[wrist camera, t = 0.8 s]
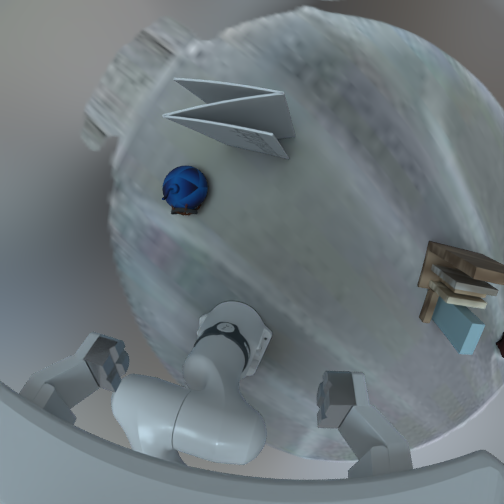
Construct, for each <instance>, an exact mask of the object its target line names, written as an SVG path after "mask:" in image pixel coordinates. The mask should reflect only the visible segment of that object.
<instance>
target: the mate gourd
mask: <svg viewBox="0 0 504 504" xmlns="http://www.w3.org/2000/svg"><path fill="white" fill-rule="evenodd" d="M496 345H498V348H499V349H500V353H501V355H502V357H503V358H504V332H503V336H502V340H500V341H498V342H496Z"/></svg>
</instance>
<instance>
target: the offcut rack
mask: <svg viewBox="0 0 504 504" xmlns="http://www.w3.org/2000/svg"><path fill="white" fill-rule="evenodd" d="M432 264H434V265H439V266H444V267H448V268H453V269H458V270H461V271H463V272H464V273H466V274H467V275H469V276H470V277H472V278H473V279H477V280H482V281H487V282H491V283H496V284H501V285H504V265H503V264H501V263H499V262H497V261H495V260H493V259H491V258H489V257H487V256H485V255H483V254H479V253H476V252H472V251H468V250H464V249H460V248H456V247H452V246H448V245H444V244H440V243H436V242H432V241H429V243H428V247H427V252H426V256H425V260H424V263H423V267H422V271H421V275H420V278H419V282H418V285H417V286H418V287H422V288H427V289H428V292H427V295H426V299H425V302H424V305H423V307H422V310H421V313H420V316H419V318H420V319H421V321H422V322H423V323H430V320H431V318H432V315H433V312H434V309H435V307H436V304H437V301H438V298H439V295H438V294H437V293H436V292H435V291H434V290H433V289H431V288H430V287H429V286H428V284H429V281H430V280H433V281H439V282H441V281H440V280H439V276H438V275H437V274H436V273H434V272H433V271H432V270H431V267H432Z"/></svg>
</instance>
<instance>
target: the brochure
mask: <svg viewBox="0 0 504 504" xmlns="http://www.w3.org/2000/svg"><path fill="white" fill-rule="evenodd" d="M174 80H175V81H176V82H178V83H179V84H180V85H182V86H183V87H185V88H186V89H188V90H189V91H190V92H192V93H193V94H195V95H196V96H197V97H199V98H200V99H202V100H203V101H204V102H206V103H207V104H205V105H200V106H196V107H192V108H187V109H183V110H179V111H175V112H171V113H168V114H164V115H163V117H164V118H166V119H169V120H171V121H174V122H176V123H179V124H181V125H183V126H186V127H188V128H190V129H193V130H195V131H197V132H200V133H202V134H204V135H206V136H209V137H211V138H213V139H215V140H217V141H219V142H222V143H224V144H226V145H229V146H234V147H238V148H243V149H247V150H252V151H256V152H260V153H265V154H269V155H273V156H277V157H281V158H285V159H288V160H289V159H290V158H289V157H288V155H287V154H286V152H285V151H284V149H283V148H282V146H281V145H280V143H279V142H278V140H277V139H281V138H292V137H295V132H294V128H293V124H292V120H291V116H290V112H289V108H288V105H287V101H286V97H285V94H284V92H281V91H276V90H271V89H266V88H260V87H254V86H248V85H241V84H234V83H227V82H219V81H209V80H198V79H185V78H174Z"/></svg>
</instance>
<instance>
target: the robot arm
mask: <svg viewBox="0 0 504 504" xmlns="http://www.w3.org/2000/svg"><path fill="white" fill-rule="evenodd" d="M199 322H200V327H199V329H198V331H197V335H198V338H197V340H196V342H195V345H194V348H193V350H192V351H191V353H190V354H189V356H188V357H187V358H186V360H185V361H184V364H183V369H182V373H183V378H184V380H185V382H186V384H187V386H188V388H186V387H183V386H180V385H177V384H174V383H171V382H168V381H165V380H162V379H160V378H156V377H151V376H145V375H139V374H129V375H128V376H126V377H124V378H123V379H121V377H120V376H122V375H124V374H125V373H126V372H127V370H128V367H129V356H128V353H127V352H126V351H125V350H124V348H125V344H124V342H123V341H122V340H118V339H116V338H112V337H109V336H106V335H103V334H99V333H96V332H91V333H90V334H89V335H88V337H87V338H86V339H85V341H84V342H83V343H82V345H81V346H80V348H79V349H78V350H77V352H76V353H75V355H74V356H69V357H67V358H65V359H62V360H60V361H58V362H56V363H54V364H52V365H50V366H48V367H46V368H44V369H42V370H40V371H38V372H36V373H34V374H32V375H31V377H30V378H29V380H28V381H27V382H26V384H25V385H24V387H23V388H22V390H21V391H20V393H19V394H18V393H17V392H15V391H14V390H12V389H11V388H10V387H8V386H7V385H5V384H4V383H2V382H1V381H0V504H504V464H503V463H502V462H501V461H500V460H498V459H497V458H496V457H495V456H493V455H492V454H491V453H489V452H487V451H486V450H479V451H475V452H472V453H470V454H467V455H464V456H461V457H458V458H455V459H451V460H448V461H444V462H441V463H437V464H433V465H429V466H425V467H421V468H416V469H413V466H412V460H411V454H410V448H409V443H408V441H407V440H406V439H405V438H404V437H403V436H402V435H401V434H400V433H399V432H398V430H397V429H396V428H395V427H394V426H393V425H392V424H391V423H390V422H389V421H388V420H387V419H386V418H385V417H384V416H383V415H382V414H381V413H380V412H379V411H378V409H377V408H376V407H375V406H374V405H370V402H369V396H368V391H367V386H366V381H365V376H364V373H363V372H350V371H325V372H324V375H323V382H321V383H320V385H319V388H318V392H317V406H318V407H319V408H320V409H319V411H318V413H317V425H318V428H338V430H339V432H340V433H341V435H342V436H343V438H344V439H345V441H346V442H347V443H348V445H349V446H350V448H351V449H352V451H353V452H354V454H355V455H356V456H357V458H358V459H359V461H358V462H357V463H356V464H355V465H354V466H352V467H351V468H350V469H349V470H348V478H346V479H328V480H291V479H273V478H272V479H271V478H260V477H250V476H242V475H235V474H228V473H222V472H216V471H210V470H205V469H200V468H195V467H191V466H187V465H186V464H185V463H184V462H183V460H182V459H181V457H180V456H179V453H178V451H181V452H184V453H187V454H189V455H193V456H195V457H199V458H202V459H205V460H208V461H212V462H216V463H225V464H240V465H245V464H247V463H248V462H250V461H252V460H253V459H255V458H256V457H257V456H258V455H259V453H260V452H261V451H262V449H263V447H264V445H265V442H266V436H267V430H266V425H265V422H264V419H263V418H262V416H261V414H260V413H259V412H258V411H257V410H255V409H254V408H253V407H252V406H250V405H249V404H248V403H247V401H246V400H245V399H244V398H243V396H242V394H241V392H240V390H239V381H240V379H243V378H245V376H252V375H254V373H255V372H256V370H257V367H258V365H259V363H260V361H261V359H262V357H263V355H264V353H265V350H266V348H267V346H268V344H269V342H270V339H271V337H272V331H271V330H270V329H269V328H268V327H266V326H265V325H264V323H263V321H262V319H261V318H260V316H259V315H258V313H257V312H256V311H255V310H254V309H253V308H251V307H250V306H248V305H246V304H244V303H241V302H235V301H229V302H224V303H221V304H219V305H217V306H216V307H215V308H214V309H213V310H212V311H211V312H210V313H207V314H204V315H202V316H201V317H200V319H199ZM265 337H266V338H267V339H265ZM99 387H100V388H103V389H106V390H110V391H112V392H113V393H112V398H111V407H112V411H113V415H114V417H115V418H116V420H117V421H118V423H119V424H120V425H121V427H122V428H123V430H124V432H125V434H126V436H127V438H128V440H129V442H130V445H131V447H132V449H129V448H125V447H123V446H120V445H118V444H115V443H113V442H110V441H108V440H105V439H103V438H100V437H98V436H96V435H93V434H91V433H89V432H87V431H85V430H82V429H80V428H78V427H76V426H74V423H75V420H76V416H75V415H74V414H73V412H72V411H71V410H70V409H71V408H72V407H74V406H75V405H76V404H78V403H79V402H81V401H82V400H84V399H85V398H86V397H88V396H89V395H91V394H92V393H93V392H95V391H96V390H98V389H99ZM177 450H178V451H177Z"/></svg>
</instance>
